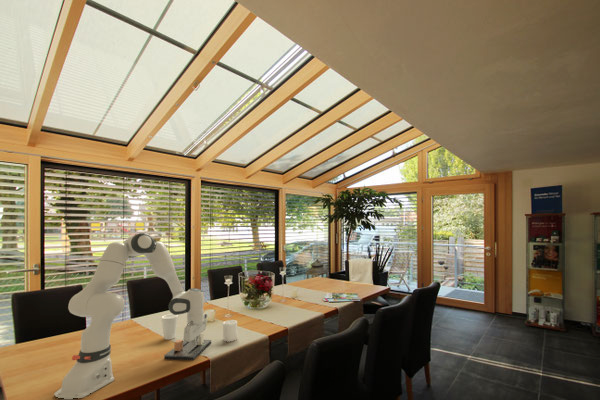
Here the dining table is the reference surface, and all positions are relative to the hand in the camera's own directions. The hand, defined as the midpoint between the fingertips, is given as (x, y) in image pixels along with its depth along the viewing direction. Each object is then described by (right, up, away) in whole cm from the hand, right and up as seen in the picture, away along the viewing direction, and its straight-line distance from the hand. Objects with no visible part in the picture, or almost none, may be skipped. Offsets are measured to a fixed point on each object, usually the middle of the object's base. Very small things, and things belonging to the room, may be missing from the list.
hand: (195, 344), depth 168 cm
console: (-4, -4, +1) cm, 6 cm away
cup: (+15, -5, +19) cm, 24 cm away
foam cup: (-23, -6, +21) cm, 32 cm away
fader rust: (-8, -2, -2) cm, 9 cm away
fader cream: (+1, -3, +5) cm, 6 cm away
